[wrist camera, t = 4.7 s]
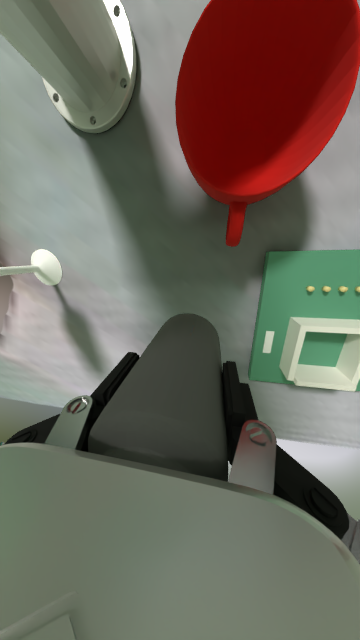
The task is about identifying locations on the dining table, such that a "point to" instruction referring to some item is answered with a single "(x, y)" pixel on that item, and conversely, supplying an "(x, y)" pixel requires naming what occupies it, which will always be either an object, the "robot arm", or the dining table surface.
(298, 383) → the board
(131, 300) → the dining table surface
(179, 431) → the bottle
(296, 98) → the ceramic cup
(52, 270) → the champagne flute
